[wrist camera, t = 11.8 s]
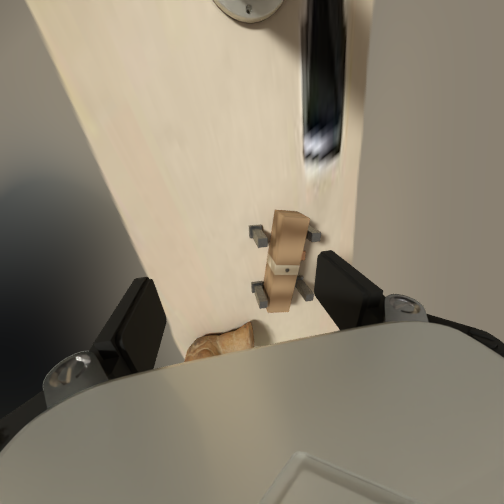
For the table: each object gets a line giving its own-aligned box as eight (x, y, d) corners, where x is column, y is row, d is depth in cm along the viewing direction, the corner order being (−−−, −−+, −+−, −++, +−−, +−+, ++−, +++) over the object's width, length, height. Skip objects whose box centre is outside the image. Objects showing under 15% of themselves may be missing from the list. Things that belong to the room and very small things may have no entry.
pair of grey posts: (251, 282, 43) (257, 300, 37) (302, 275, 45) (315, 292, 39) (251, 291, 44) (257, 310, 38) (301, 284, 46) (314, 301, 40)
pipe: (256, 338, 50) (266, 376, 41) (195, 358, 49) (191, 401, 40) (248, 312, 46) (256, 348, 37) (181, 334, 45) (174, 376, 36)
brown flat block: (295, 251, 42) (296, 252, 41) (304, 250, 42) (305, 251, 42) (295, 259, 43) (296, 261, 42) (303, 258, 43) (304, 260, 42)
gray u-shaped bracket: (248, 225, 37) (255, 236, 32) (307, 220, 39) (323, 230, 34) (249, 237, 38) (256, 250, 33) (306, 231, 40) (321, 243, 34)
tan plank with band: (274, 209, 37) (284, 217, 32) (296, 211, 38) (310, 218, 33) (261, 295, 45) (267, 313, 40) (280, 294, 46) (289, 312, 41)
